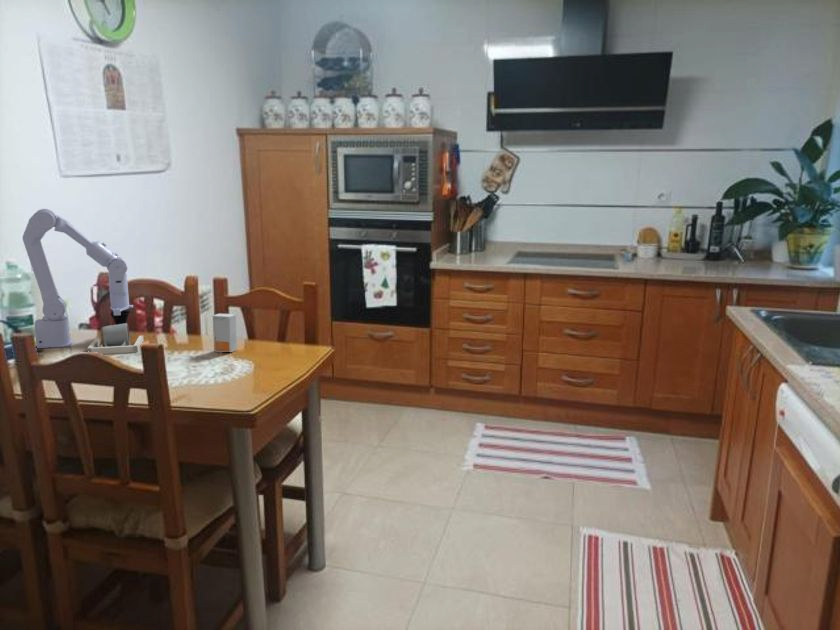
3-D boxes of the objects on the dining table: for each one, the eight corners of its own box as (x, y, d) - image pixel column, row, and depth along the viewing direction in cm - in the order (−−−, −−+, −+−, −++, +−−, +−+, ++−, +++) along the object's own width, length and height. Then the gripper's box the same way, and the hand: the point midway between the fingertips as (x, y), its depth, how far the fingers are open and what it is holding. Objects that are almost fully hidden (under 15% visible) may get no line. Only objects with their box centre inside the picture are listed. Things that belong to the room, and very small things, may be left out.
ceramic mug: (103, 345, 208) (101, 322, 206) (130, 343, 211) (128, 321, 209) (101, 353, 198) (98, 330, 196) (129, 351, 201) (127, 328, 200)
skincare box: (213, 352, 201) (211, 315, 198) (220, 349, 205) (219, 313, 202) (230, 353, 199) (229, 316, 197) (237, 350, 203) (236, 314, 201)
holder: (87, 354, 196) (86, 348, 195) (96, 343, 210) (96, 337, 210) (137, 352, 200) (137, 345, 199) (143, 341, 214) (143, 335, 214)
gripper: (128, 296, 208) (131, 336, 210) (134, 289, 221) (137, 327, 224) (105, 296, 206) (108, 337, 209) (112, 290, 219) (116, 328, 222)
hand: (122, 332), depth 216 cm, fingers closed
